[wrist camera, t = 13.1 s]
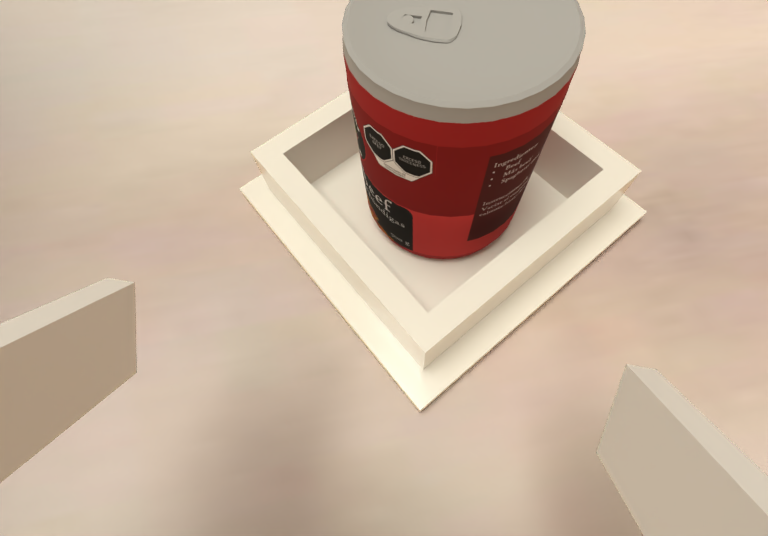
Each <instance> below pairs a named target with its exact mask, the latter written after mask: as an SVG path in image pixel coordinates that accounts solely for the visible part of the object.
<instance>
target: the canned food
mask: <svg viewBox="0 0 768 536" xmlns="http://www.w3.org/2000/svg"><path fill="white" fill-rule="evenodd" d="M342 31H343V38H342V39H343V54H344V60H345V66H346V73H347V82H348V88H349V94H350V100H351V106H352V112H353V118H354V123H355V129H356V135H357V141H358V147H359V153H360V158H361V164H362V170H363V176H364V182H365V188H366V193H367V199H368V205H369V208H370V211H371V214H372V216H373V218H374V220H375V221H376V223H377V225H378V226H379V228H380V229H381V230H382V231H383V232H384V233H385V234H386V235H387V236H388V237H389V238H390V240H391V241H393V242H394V243H395V244H397V245H398V246H400V247H401V248H402V249H404V250H407V251H409V252H411V253H413V254H415V255H419V256H423V257H427V258H434V259H453V258H460V257H463V256H467V255H471V254H473V253H475V252H477V251H479V250H481V249H483V248H485V247H486V246H488V245H489V244H490V243H492V242H493V241H494V240H496V239H497V238H498V237H499V236H500V235H501V234H502V233H503V232H504V231H505V230H506V228H507V227H508V225H509V224H510V222H511V220H512V218H513V216H514V214H515V211H516V209H517V207H518V204H519V202H520V200H521V198H522V195H523V193H524V191H525V188H526V186H527V184H528V181H529V179H530V177H531V174H532V172H533V170H534V167H535V165H536V163H537V161H538V158H539V156H540V154H541V151H542V149H543V147H544V144H545V142H546V140H547V137H548V135H549V133H550V130H551V128H552V126H553V124H554V121H555V119H556V117H557V114H558V112H559V110H560V107H561V105H562V103H563V100H564V98H565V96H566V93H567V91H568V88H569V85H570V82H571V80H572V78H573V75H574V73H575V70H576V68H577V66H578V62H579V58H580V53H581V51H582V48H583V43H584V38H585V34H586V32H585V21H584V16H583V13H582V11H581V8H580V6H579V3H578V2H577V0H350V1H349V3H348V5H347V7H346V9H345V13H344V17H343V22H342Z"/></svg>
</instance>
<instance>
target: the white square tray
mask: <svg viewBox="0 0 768 536" xmlns="http://www.w3.org/2000/svg"><path fill="white" fill-rule="evenodd" d="M251 154H252V156H253V158H254V160H255V162H256V164H257V166H258V168H259V170H260V172H261V175H260V176H258V177H256V178H255V179H253V180H252V181H250V182H249V183H247V184H246V185H244V186H243V187H241V188H240V190H241V192H242V194H243V195H244V197H245V198H246V199H247V200H248V202H249V203H250V204H251V205H252V207H253V208H254V209H255V210H256V211H257V213H258V214H259V215H260V216H261V218H262V219H263V220H264V221H265V223H266V224H267V225H268V226H269V227H270V229H271V230H272V231H273V232H274V234H275V235H276V236H277V237H278V239H279V240H280V241H281V242H282V243H283V245H284V246H285V247H286V248H287V250H288V251H289V252H290V253H291V255H292V256H293V257H294V258H295V259H296V261H297V262H298V263H299V264H300V266H301V267H302V268H303V269H304V271H305V272H306V273H307V274H308V275H309V277H310V278H311V279H312V280H313V282H314V283H315V284H316V285H317V287H318V288H319V289H320V290H321V291H322V293H323V294H324V295H325V296H326V298H327V299H328V300H329V301H330V303H331V304H332V305H333V306H334V307H335V309H336V310H337V311H338V312H339V314H340V315H341V316H342V317H343V319H344V320H345V321H346V322H347V323H348V325H349V326H350V327H351V328H352V330H353V331H354V332H355V333H356V335H357V336H358V337H359V338H360V339H361V341H362V342H363V343H364V344H365V346H366V347H367V348H368V349H369V351H370V352H371V353H372V354H373V355H374V357H375V358H376V359H377V360H378V362H379V363H380V364H381V365H382V367H383V368H384V369H385V370H386V371H387V373H388V374H389V375H390V376H391V378H392V379H393V380H394V381H395V383H396V384H397V385H398V386H399V387H400V389H401V390H402V391H403V392H404V394H405V395H406V396H407V397H408V399H409V400H410V401H411V402H412V403H413V405H414V406H415V407H416V408H417V410H418V411H419V412H421V411H422V410H423V409H425V408H426V407H427V406H428V405H429V404H430V403H431V402H432V401H434V400H435V399H436V398H437V397H438V396H439V395H440V394H442V393H443V392H444V391H445V390H446V389H447V388H448V387H450V386H451V385H452V384H453V383H454V382H455V381H456V380H458V379H459V378H460V377H461V376H462V375H463V374H464V373H466V372H467V371H468V370H469V369H470V368H471V367H472V366H473V365H475V364H476V363H477V362H478V361H479V360H480V359H481V358H483V357H484V356H485V355H486V354H487V353H488V352H489V351H491V350H492V349H493V348H494V347H495V346H496V345H497V344H499V343H500V342H501V341H502V340H503V339H504V338H505V337H507V336H508V335H509V334H510V333H511V332H512V331H513V330H514V329H516V328H517V327H518V326H519V325H520V324H521V323H522V322H524V321H525V320H526V319H527V318H528V317H529V316H530V315H532V314H533V313H534V312H535V311H536V310H537V309H538V308H540V307H541V306H542V305H543V304H544V303H545V302H546V301H547V300H549V299H550V298H551V297H552V296H553V295H554V294H555V293H557V292H558V291H559V290H560V289H561V288H562V287H563V286H565V285H566V284H567V283H568V282H569V281H570V280H571V279H573V278H574V277H575V276H576V275H577V274H578V273H579V272H581V271H582V270H583V269H584V268H585V267H586V266H587V265H588V264H590V263H591V262H592V261H593V260H594V259H595V258H596V257H598V256H599V255H600V254H601V253H602V252H603V251H604V250H606V249H607V248H608V247H609V246H610V245H611V244H612V243H614V242H615V241H616V240H617V239H618V238H619V237H620V236H622V235H623V234H624V233H625V232H626V231H627V230H628V229H629V228H631V227H632V226H633V225H634V224H635V223H636V222H637V221H639V220H640V219H641V218H642V217H643V215H644V214H645V213H646V211H645V210H644V209H642V208H641V207H640V206H639V205H637V204H636V203H635V202H633V201H632V200H631V199H629V198H628V197H627V196H626V195H624V193H625V191H626V190H627V189H628V188H629V186H630V185H631V184H632V183H633V181H634V180H635V179H636V177H637V176H638V175H639V174H640V172H641V170H639V169H638V168H637V167H635V166H634V165H633V164H631V163H630V162H629V161H627V160H626V159H624V158H623V157H622V156H620V155H619V154H618V153H616V152H615V151H614V150H612V149H611V148H609V147H608V146H607V145H605V144H604V143H603V142H601V141H600V140H599V139H597V138H596V137H595V136H593V135H592V134H590V133H589V132H588V131H586V130H585V129H584V128H582V127H581V126H580V125H578V124H577V123H575V122H574V121H573V120H571V119H570V118H569V117H567V116H566V115H565V114H563V113H562V112H560V111H559V112H558V114H557V117H556V119H555V121H554V124H553V126H552V128H551V130H550V133H549V135H548V137H547V140H546V142H545V144H544V147H543V149H542V151H541V154H540V156H539V158H538V161H537V163H536V165H535V167H534V170H533V172H532V174H531V177H530V179H529V181H528V184H527V186H526V188H525V191H524V193H523V195H522V198H521V200H520V202H519V204H518V207H517V209H516V211H515V214H514V216H513V218H512V220H511V222H510V224H509V225H508V227H507V228H506V230H505V231H504V232H503V233H502V234H501V235H500V236H499V237H498V238H497V239H496V240H494V241H493V242H492V243H490V244H489V245H488V246H486V247H485V248H483V249H481V250H479V251H477V252H475V253H473V254H471V255H467V256H463V257H460V258H453V259H434V258H427V257H423V256H419V255H415V254H413V253H411V252H409V251H407V250H404V249H402V248H401V247H400V246H398V245H397V244H395V243H394V242H393V241H391V240H390V238H389V237H388V236H387V235H386V234H385V233H384V232H383V231H382V230H381V229H380V228H379V226H378V225H377V223H376V221H375V220H374V218H373V216H372V214H371V211H370V208H369V205H368V199H367V193H366V188H365V182H364V176H363V170H362V164H361V158H360V153H359V147H358V141H357V135H356V129H355V123H354V118H353V112H352V106H351V100H350V94H349V90H348V91H346V92H344V93H343V94H341V95H340V96H338V97H336V98H335V99H333V100H332V101H330V102H329V103H327V104H325V105H324V106H322V107H321V108H319V109H317V110H316V111H314V112H313V113H311V114H310V115H308V116H306V117H305V118H303V119H302V120H300V121H298V122H297V123H295V124H294V125H292V126H291V127H289V128H287V129H286V130H284V131H283V132H281V133H279V134H278V135H276V136H275V137H273V138H272V139H270V140H268V141H267V142H265V143H264V144H262V145H260V146H259V147H257V148H256V149H254V150H253V151H251Z"/></svg>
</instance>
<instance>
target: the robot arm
mask: <svg viewBox="0 0 768 536" xmlns="http://www.w3.org/2000/svg"><path fill="white" fill-rule="evenodd" d="M136 373H137V361H136V310H135V282H130V281H124V280H118V279H112V278H106V279H103V280H101V281H99V282H96V283H94V284H92V285H89V286H87V287H85V288H82V289H80V290H78V291H75V292H73V293H71V294H68V295H66V296H64V297H61V298H59V299H57V300H54V301H52V302H50V303H47V304H45V305H43V306H40V307H38V308H36V309H33V310H31V311H29V312H26V313H24V314H22V315H19V316H17V317H15V318H12V319H10V320H8V321H5V322H3V323H1V324H0V483H1V482H2V481H3V480H4V479H6V478H7V477H8V476H9V475H11V474H12V473H13V472H14V471H16V470H17V469H18V468H19V467H21V466H22V465H23V464H24V463H25V462H27V461H28V460H29V459H30V458H32V457H33V456H34V455H35V454H37V453H38V452H39V451H40V450H42V449H43V448H44V447H45V446H46V445H48V444H49V443H50V442H51V441H53V440H54V439H55V438H56V437H58V436H59V435H60V434H61V433H63V432H64V431H65V430H66V429H68V428H69V427H70V426H71V425H72V424H74V423H75V422H76V421H77V420H79V419H80V418H81V417H82V416H84V415H85V414H86V413H87V412H89V411H90V410H91V409H92V408H93V407H95V406H96V405H97V404H98V403H100V402H101V401H102V400H103V399H105V398H106V397H107V396H108V395H110V394H111V393H112V392H113V391H115V390H116V389H117V388H118V387H119V386H121V385H122V384H123V383H124V382H126V381H127V380H128V379H129V378H131V377H132V376H133V375H134V374H136ZM596 453H597V455H598V457H599V459H600V460H601V462H602V464H603V466H604V467H605V469H606V471H607V473H608V474H609V476H610V478H611V480H612V481H613V483H614V485H615V487H616V488H617V490H618V492H619V494H620V496H621V497H622V499H623V501H624V503H625V504H626V506H627V508H628V510H629V511H630V513H631V515H632V517H633V518H634V520H635V522H636V524H637V525H638V527H639V529H640V531H641V532H642V534H643V536H768V476H767V475H766V474H765V473H764V472H763V471H762V470H761V469H760V468H759V467H758V466H757V465H756V464H755V463H754V462H753V461H752V460H751V459H750V458H749V457H747V456H746V455H745V454H744V453H743V452H742V451H741V450H740V449H739V448H738V447H737V446H736V445H735V444H734V443H733V442H732V441H731V440H730V439H729V438H728V437H727V436H725V435H724V434H723V433H722V432H721V431H720V430H719V429H718V428H717V427H716V426H715V425H714V424H713V423H712V422H711V421H710V420H709V419H708V418H707V417H706V416H705V415H703V414H702V413H701V412H700V411H699V410H698V409H697V408H696V407H695V406H694V405H693V404H692V403H691V402H690V401H689V400H688V399H687V398H686V397H685V396H684V395H683V394H682V393H680V392H679V391H678V390H677V389H676V388H675V387H674V386H673V385H672V384H671V383H670V382H669V381H668V380H667V379H666V378H665V377H664V376H663V375H662V374H661V373H660V372H658V371H657V370H656V369H652V368H646V367H640V366H634V365H628V364H626V366H625V369H624V372H623V375H622V378H621V381H620V384H619V387H618V389H617V392H616V395H615V398H614V401H613V404H612V407H611V410H610V413H609V416H608V419H607V422H606V425H605V428H604V431H603V434H602V437H601V440H600V442H599V445H598V448H597V451H596Z"/></svg>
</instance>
